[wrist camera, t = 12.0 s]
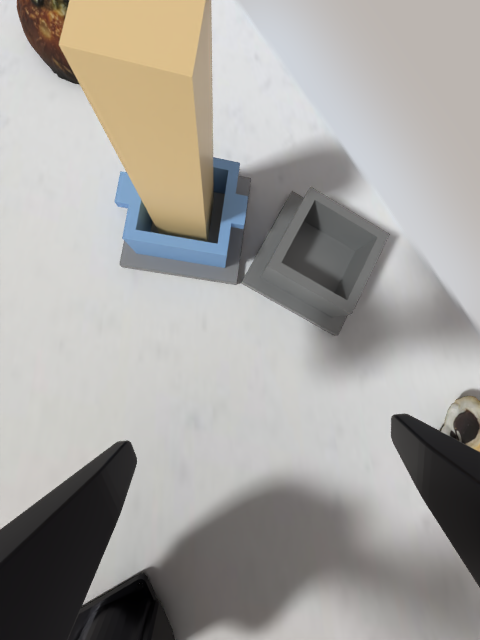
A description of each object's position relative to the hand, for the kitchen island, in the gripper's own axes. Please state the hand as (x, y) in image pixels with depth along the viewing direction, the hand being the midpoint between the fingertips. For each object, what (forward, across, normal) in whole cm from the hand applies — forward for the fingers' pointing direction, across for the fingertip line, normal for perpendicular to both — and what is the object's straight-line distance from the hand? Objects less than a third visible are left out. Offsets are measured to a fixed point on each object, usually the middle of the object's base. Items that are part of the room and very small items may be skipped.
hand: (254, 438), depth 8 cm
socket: (+16, -6, -4) cm, 18 cm away
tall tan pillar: (+15, +4, -10) cm, 19 cm away
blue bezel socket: (+16, +4, -9) cm, 19 cm away
